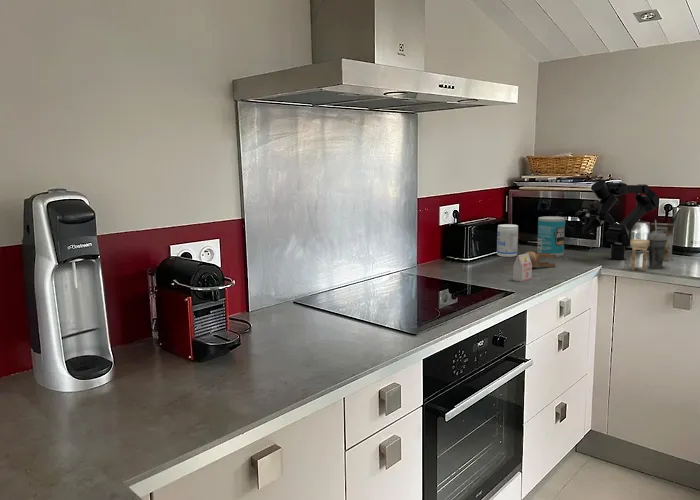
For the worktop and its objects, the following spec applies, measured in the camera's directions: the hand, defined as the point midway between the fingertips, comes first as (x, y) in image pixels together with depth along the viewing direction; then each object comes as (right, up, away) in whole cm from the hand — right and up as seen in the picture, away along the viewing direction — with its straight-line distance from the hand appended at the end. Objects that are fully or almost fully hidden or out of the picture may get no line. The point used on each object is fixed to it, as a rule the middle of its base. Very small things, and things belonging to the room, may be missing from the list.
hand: (583, 232), depth 244 cm
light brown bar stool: (+17, -15, -14) cm, 27 cm away
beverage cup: (+25, -15, -11) cm, 32 cm away
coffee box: (+36, -12, +6) cm, 39 cm away
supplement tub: (-26, -10, +26) cm, 38 cm away
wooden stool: (-14, -12, -2) cm, 19 cm away
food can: (-6, -10, +24) cm, 26 cm away
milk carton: (-35, -19, -26) cm, 47 cm away
